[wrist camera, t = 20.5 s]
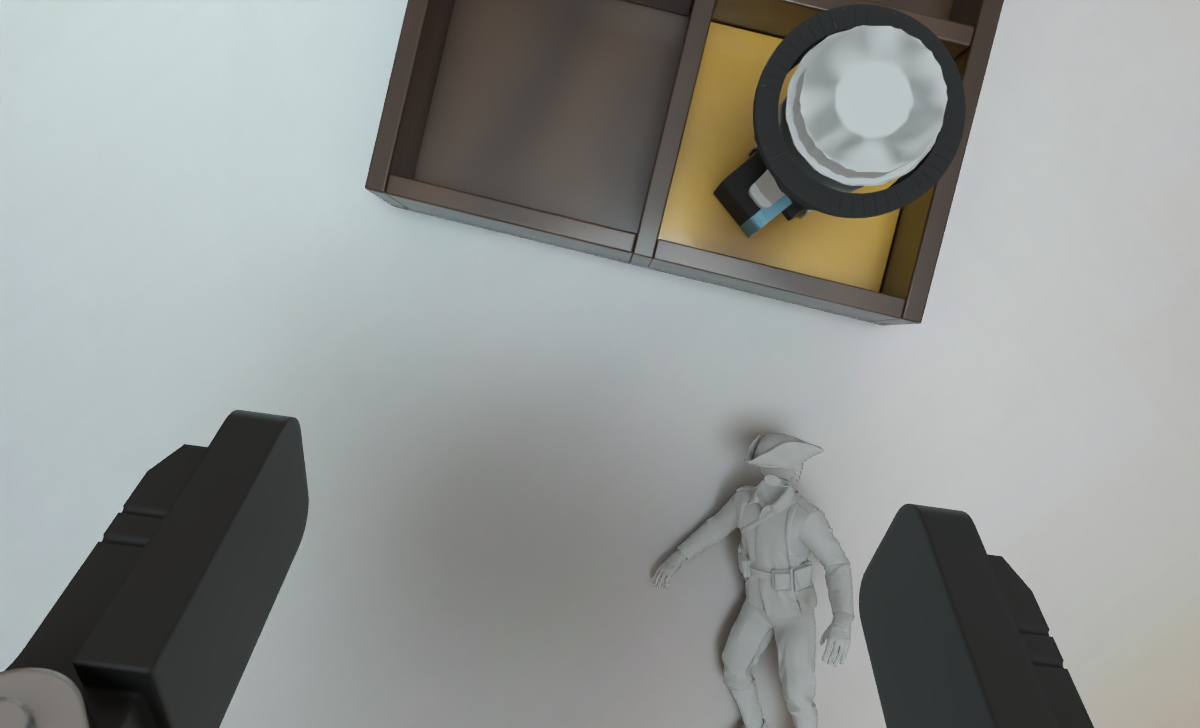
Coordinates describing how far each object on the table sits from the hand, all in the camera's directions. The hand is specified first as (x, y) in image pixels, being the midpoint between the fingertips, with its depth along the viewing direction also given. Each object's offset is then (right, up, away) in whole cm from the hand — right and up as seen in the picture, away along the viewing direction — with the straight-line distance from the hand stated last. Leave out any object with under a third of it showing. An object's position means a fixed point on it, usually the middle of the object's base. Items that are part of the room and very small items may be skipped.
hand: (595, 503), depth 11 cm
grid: (+4, +15, +19) cm, 25 cm away
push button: (+7, +9, +19) cm, 22 cm away
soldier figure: (+6, -7, +20) cm, 22 cm away
